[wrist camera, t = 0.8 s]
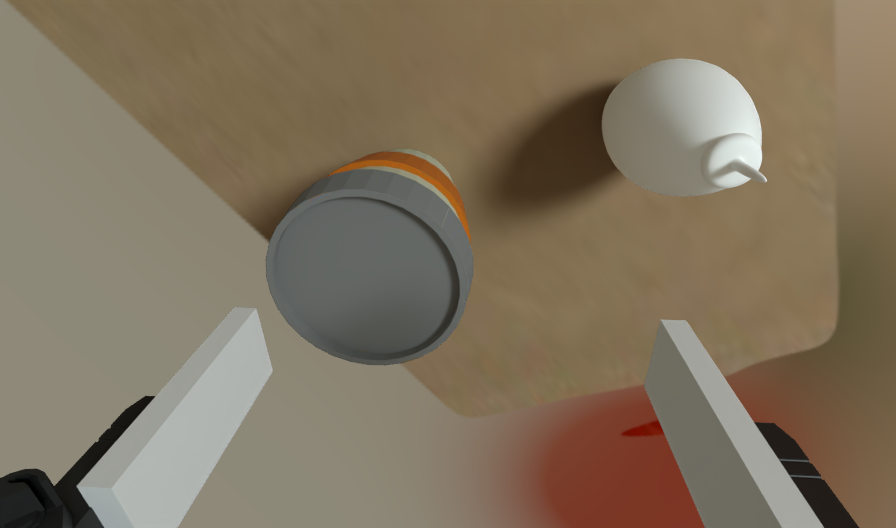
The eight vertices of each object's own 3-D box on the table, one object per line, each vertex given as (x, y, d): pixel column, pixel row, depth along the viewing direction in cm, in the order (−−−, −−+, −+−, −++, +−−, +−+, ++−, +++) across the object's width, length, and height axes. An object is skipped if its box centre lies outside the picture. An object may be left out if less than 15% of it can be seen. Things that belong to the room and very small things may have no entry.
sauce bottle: (685, 36, 32) (875, 48, 16) (699, 139, 35) (870, 233, 20) (576, 78, 34) (653, 125, 18) (599, 172, 37) (681, 283, 21)
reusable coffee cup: (327, 241, 42) (254, 340, 29) (348, 107, 36) (268, 154, 23) (455, 276, 43) (441, 388, 30) (496, 150, 37) (501, 221, 24)
